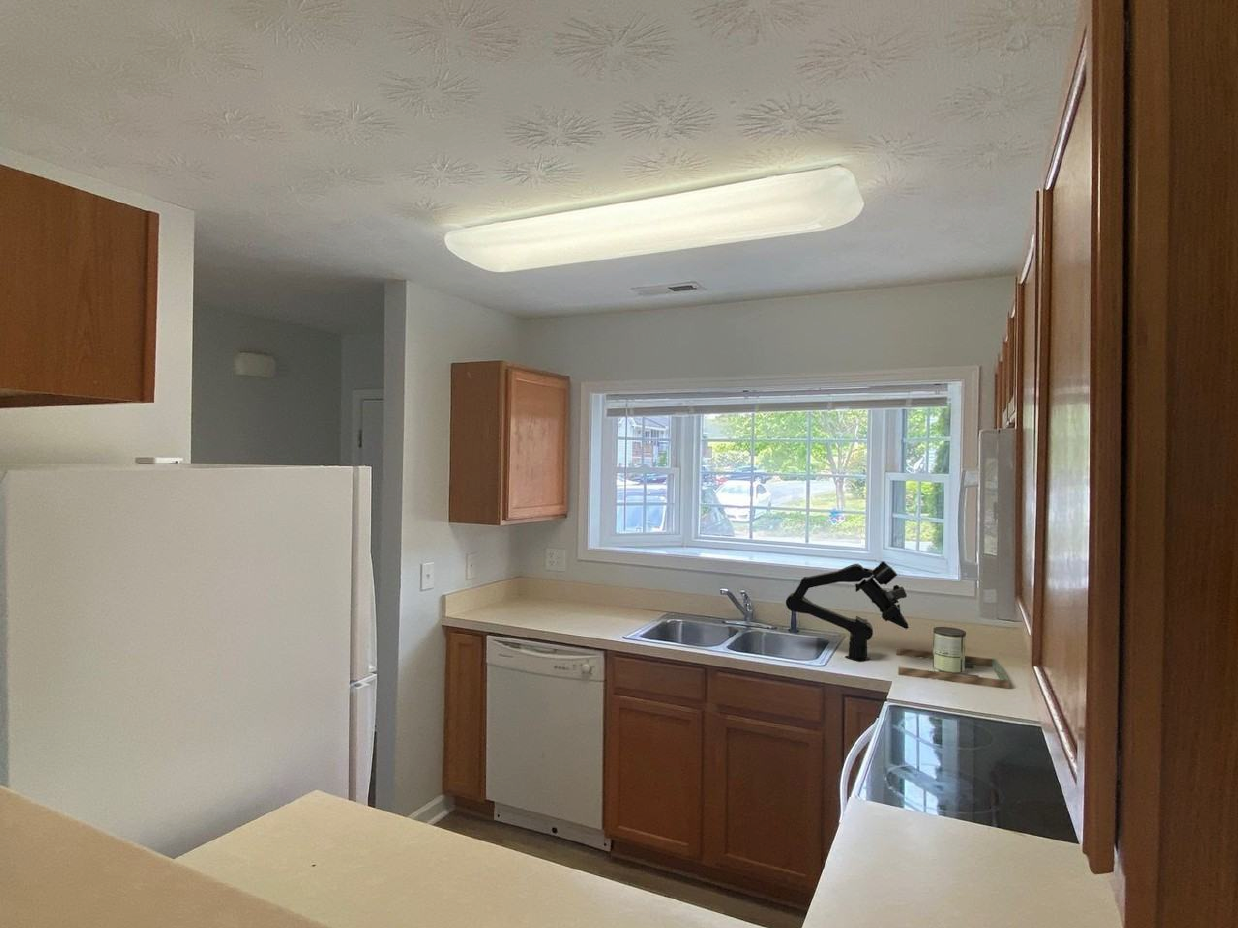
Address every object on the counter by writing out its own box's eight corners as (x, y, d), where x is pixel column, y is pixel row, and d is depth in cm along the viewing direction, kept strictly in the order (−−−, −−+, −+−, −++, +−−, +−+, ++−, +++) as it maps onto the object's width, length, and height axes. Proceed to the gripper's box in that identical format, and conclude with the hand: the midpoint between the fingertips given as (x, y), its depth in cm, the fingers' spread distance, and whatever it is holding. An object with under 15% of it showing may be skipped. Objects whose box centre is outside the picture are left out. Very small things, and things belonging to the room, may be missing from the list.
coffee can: (927, 665, 244) (929, 625, 244) (957, 666, 243) (959, 627, 243) (938, 674, 234) (939, 633, 234) (969, 675, 233) (971, 634, 233)
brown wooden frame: (898, 674, 232) (898, 665, 232) (896, 654, 257) (896, 646, 257) (1008, 689, 220) (1008, 679, 220) (995, 666, 245) (995, 657, 245)
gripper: (893, 582, 237) (927, 618, 233) (892, 575, 254) (923, 607, 250) (868, 603, 239) (901, 638, 236) (869, 593, 257) (899, 626, 253)
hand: (907, 626), depth 243 cm, fingers open, 4 cm apart
